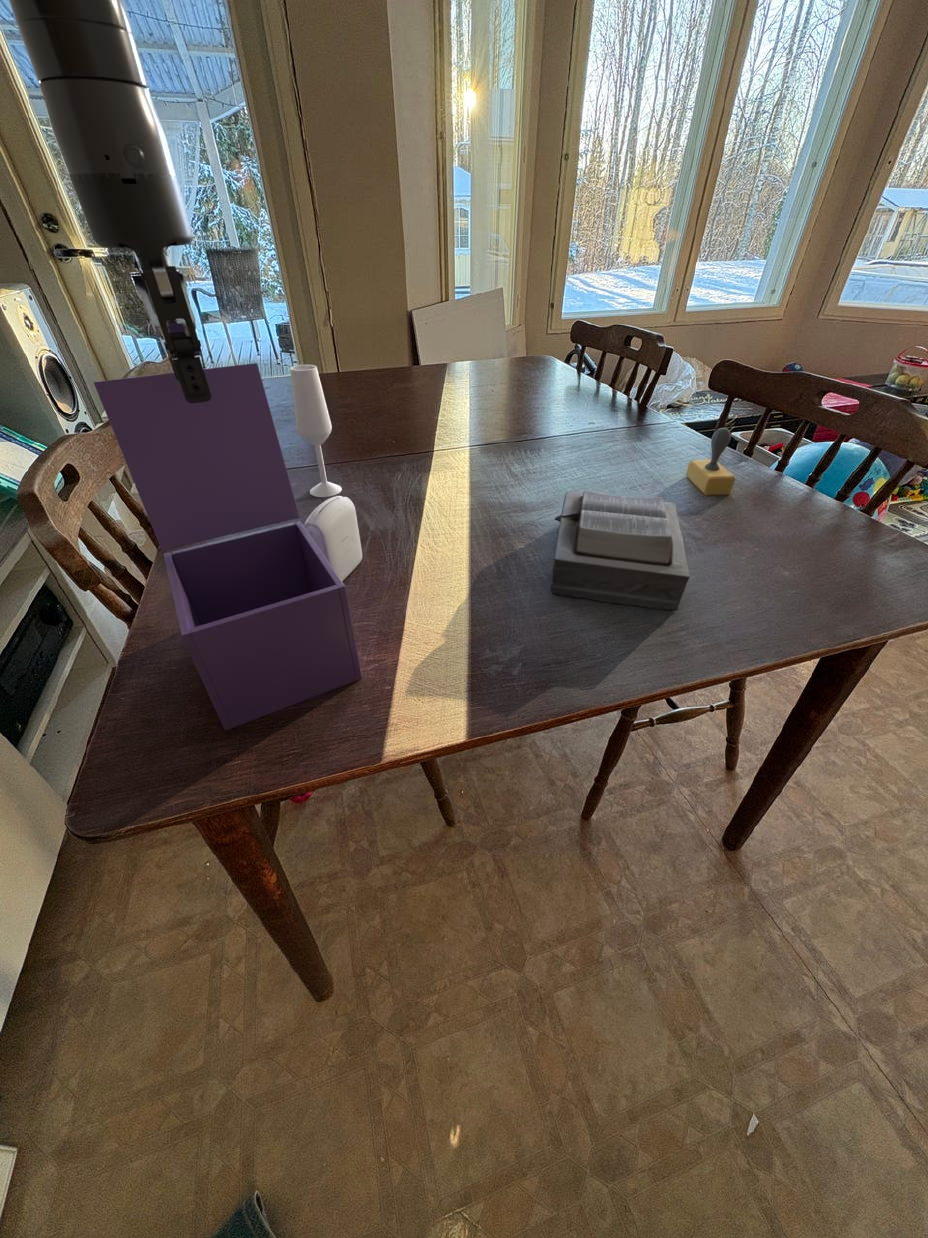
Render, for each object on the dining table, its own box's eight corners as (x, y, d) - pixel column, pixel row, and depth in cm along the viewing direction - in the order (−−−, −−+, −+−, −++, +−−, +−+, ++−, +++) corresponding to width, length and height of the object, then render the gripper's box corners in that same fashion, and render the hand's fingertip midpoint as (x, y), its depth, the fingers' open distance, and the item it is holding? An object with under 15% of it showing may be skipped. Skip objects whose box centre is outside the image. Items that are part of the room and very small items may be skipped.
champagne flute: (345, 493, 107) (326, 369, 92) (314, 499, 105) (288, 373, 90) (336, 481, 112) (316, 361, 97) (306, 487, 110) (280, 365, 95)
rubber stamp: (684, 475, 114) (700, 420, 106) (710, 474, 114) (727, 419, 107) (704, 495, 106) (722, 437, 98) (731, 494, 106) (751, 436, 99)
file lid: (257, 362, 59) (256, 363, 60) (93, 381, 53) (94, 382, 53) (300, 517, 67) (298, 516, 68) (161, 550, 61) (161, 549, 61)
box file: (362, 678, 65) (345, 586, 56) (225, 731, 58) (181, 635, 49) (319, 606, 77) (300, 520, 68) (201, 643, 70) (163, 553, 61)
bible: (520, 587, 80) (524, 531, 74) (566, 514, 99) (572, 465, 93) (675, 625, 73) (694, 567, 67) (692, 538, 92) (708, 486, 86)
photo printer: (334, 592, 79) (320, 520, 72) (311, 587, 81) (294, 516, 73) (366, 559, 87) (357, 491, 79) (344, 554, 88) (332, 487, 80)
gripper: (70, 174, 43) (146, 379, 53) (62, 163, 34) (157, 416, 44) (166, 175, 46) (222, 370, 56) (185, 165, 36) (247, 403, 47)
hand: (193, 390), depth 50 cm, fingers open, 8 cm apart
